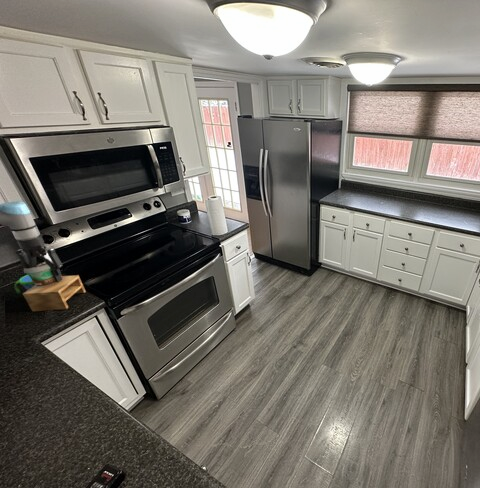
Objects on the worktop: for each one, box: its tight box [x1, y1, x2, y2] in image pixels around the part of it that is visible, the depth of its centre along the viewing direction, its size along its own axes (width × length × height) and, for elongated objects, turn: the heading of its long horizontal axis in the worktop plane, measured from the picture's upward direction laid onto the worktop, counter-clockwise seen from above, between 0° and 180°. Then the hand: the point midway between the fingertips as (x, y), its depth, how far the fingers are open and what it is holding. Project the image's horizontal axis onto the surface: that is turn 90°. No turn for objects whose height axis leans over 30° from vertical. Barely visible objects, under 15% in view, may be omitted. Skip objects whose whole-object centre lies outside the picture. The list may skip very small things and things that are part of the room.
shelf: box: [22, 274, 87, 312], centre depth 127 cm, size 14×14×10 cm
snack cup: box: [14, 274, 35, 294], centre depth 132 cm, size 16×10×10 cm
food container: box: [23, 261, 63, 286], centre depth 123 cm, size 12×6×10 cm, turn 165°
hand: (50, 281), depth 125 cm, fingers closed on food container, 7 cm apart
